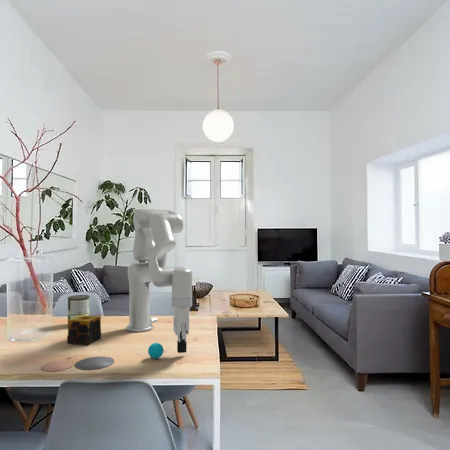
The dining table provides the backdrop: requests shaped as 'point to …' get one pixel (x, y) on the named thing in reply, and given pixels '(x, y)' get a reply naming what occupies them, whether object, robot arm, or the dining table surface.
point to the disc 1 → (57, 366)
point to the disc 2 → (94, 363)
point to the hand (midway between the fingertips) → (181, 351)
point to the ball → (155, 350)
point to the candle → (84, 330)
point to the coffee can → (78, 306)
